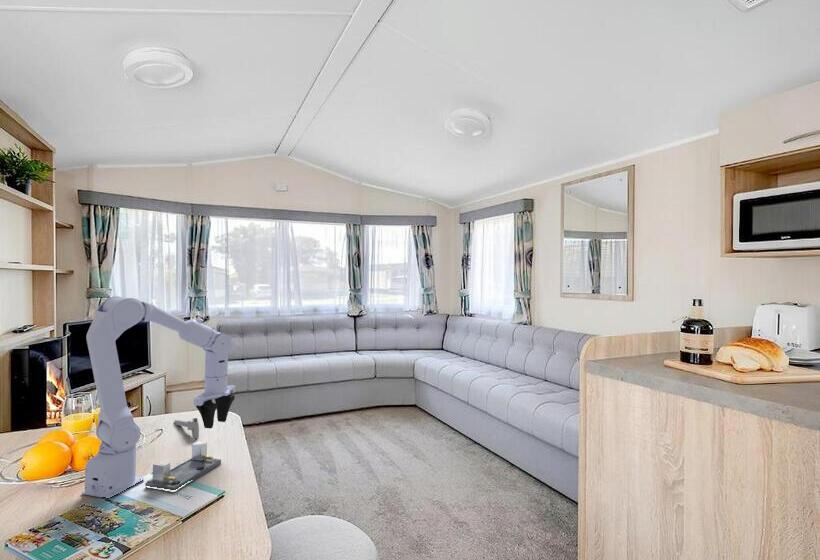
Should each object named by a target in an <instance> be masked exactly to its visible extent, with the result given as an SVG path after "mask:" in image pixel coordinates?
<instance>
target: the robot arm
mask: <svg viewBox="0 0 820 560" xmlns="http://www.w3.org/2000/svg"><path fill="white" fill-rule="evenodd" d="M140 322H143V323H147V322H153V323H155V324H157V325H159V326H162V327H165V328H167V329H170V330H172V331H175V332H177V333H178V336H179V338H180V339H181V340H183V341H185V342H187V343H190V344H192V345H195V346H196V347H199V348H201V349H202V350H204V352H205V358H204V362H205V363H204V391H203V392H202V393H201V394H199V395H197V396H196V397H194V398H193V405H194V406H195V407H196V409H197V410H198V412H199V413H200V414H199V415H200V417H201V419H202V422H203V427H204V429H213V427H214V422H215V415H216V417H217V422H218V423H219V422H220V423H225V422H226V421H227V419H228V418H227V417H228V414H229V412H230V408H231V406H232V404H233V402H234V400H235V398H236V397H235V394H234V393H236V390H237V389H236V388H237V387H236V385H233V384H230V385H228V373H229V370H228V368H229V366H228V365H229V352H230V351H231V350H232V347H233V345H234V342H232V339H231V337H230V335H229V334H227V333H225V332H219V331H217V330H218V328H216V327H215V326H214V327H213V326H212V327H210V326H208V325H206V324H204V323H203V320H201V319H197V318H196V319H193V318H192V319H188V320H183V318H179V317H178V316H176V315H174V314H172V313H170V312H168V311H167V310H164V309H162V308H160V307H158V306H156V305H154V304H151V303H148V302H146V301H142V300H141V301H140V300H139V299H137V298H134V297H122V296H119V295H116V296H110V297H108V298H106V299H105V300H104V301H103V302H101V304H100V305H99V306H97V307H96V309H95V314H94V317H93V319H92V322H91V323H90V326H89V328H88V331H87V333H86V336H85V337H86V338H85V339H86V344H87V349H88V353H89V359H90V364H91V368H92V375H93V380H94V383H95V388H96V395H97V401H98V405H99V408H100V410H99V412H98V415H97V418H98V424H97V426H96V429H95V434H96V437H97V438H98V440H99V441H101V443H100V445H99V447H98V451H97V453H96V454H95V455H94V456H93V457H91V458H90V459H88V460H87V461H86V464H85V467H84V490H82V491H81V494H82V495H87V496H91V497H97V498H102V497H107V498H109V497H112V496H114V495H116V494H118V493H119V494H121V493H123V492H125V491H127V490H128V489H127V488H129V487H131V486H133V485H134V484H136V483H138V482H139V481H141V479H142V480H143V479H144V478H145V477H141V476H137V475H136V469H137V468H136V467H137V466H136V465H137V462H136V461H137V443H139V440H140V438H141V433H142V432H141V429H140V426H139V425H137V424H136V422H135V421H134V416H133V414H132V411H131V410H130V408H129V406H128V403H127V399H126V392H125V387H124V382H123V377H122V371H121V365H120V361H119V354H118V349H117V344H116V343H117V342H116V340H118V339H119V338H120V336H121V335H122V334H123V333H124V332H125V331H127V330H128V329H131V328H132V327H133V326H135V325H137V324H138V323H140ZM213 401H214V402H213ZM215 413H216V414H215ZM138 484H139V483H138ZM136 485H137V484H136ZM134 486H135V485H134ZM134 486H133V487H134ZM131 488H132V487H131ZM126 489H127V490H126ZM129 489H130V488H129ZM124 490H125V491H124ZM122 491H123V492H122ZM120 492H121V493H120ZM119 494H118V495H119ZM116 496H117V495H116ZM114 497H115V496H114ZM107 498H106V499H107ZM112 498H113V497H112ZM109 499H110V498H109Z"/></svg>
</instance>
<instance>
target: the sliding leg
mask: <svg viewBox="0 0 820 560" xmlns="http://www.w3.org/2000/svg"><path fill="white" fill-rule="evenodd" d="M191 457H192V459H193V460H200V461H202V460H204V459H210V460H211V459H213V458H214V456H212V455H208V442H205V441H195V442H193V443H192V444H191Z"/></svg>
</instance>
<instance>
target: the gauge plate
mask: <svg viewBox="0 0 820 560" xmlns="http://www.w3.org/2000/svg"><path fill="white" fill-rule="evenodd" d="M221 464H222V459H221V458H220V459H219V458H214V457H213V459H211V460H210V459H204V460H202V461H200V460H193V459H192V456H190V457H188V458H187V459H184V460H183V461H181V462H179V463H177V464H176V465H174V466H172V467H171V462H169V461H162V460H159V461H157V462H155V463H153V464H152V478H150V479H147V481H146V482H145V483H144V484H145V485H144V487H145V486H150V487H157V488H164V489H170V490H176V489H178V488H179V487H181V486H182V485H184V484H185V483H187V482H188V481H191V480H193V482H194V481H196V480H197V479H199V478H201V477H202V476H204V475H206V474H207V473H209V472H211V471H213V470H214V469H215V468H217V467H219V466H220V465H221Z"/></svg>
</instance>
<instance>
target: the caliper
mask: <svg viewBox="0 0 820 560" xmlns="http://www.w3.org/2000/svg"><path fill="white" fill-rule="evenodd" d="M173 424H174V425H175V426H180V427H185V428H187V430H188V431H191V435H192V439H194V440H197V439H199V438H200V433H199V432H200V427H199V421H198V417H193V418H192V420H183V419H182V420H181V419H175V420H174V421H173Z"/></svg>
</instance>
